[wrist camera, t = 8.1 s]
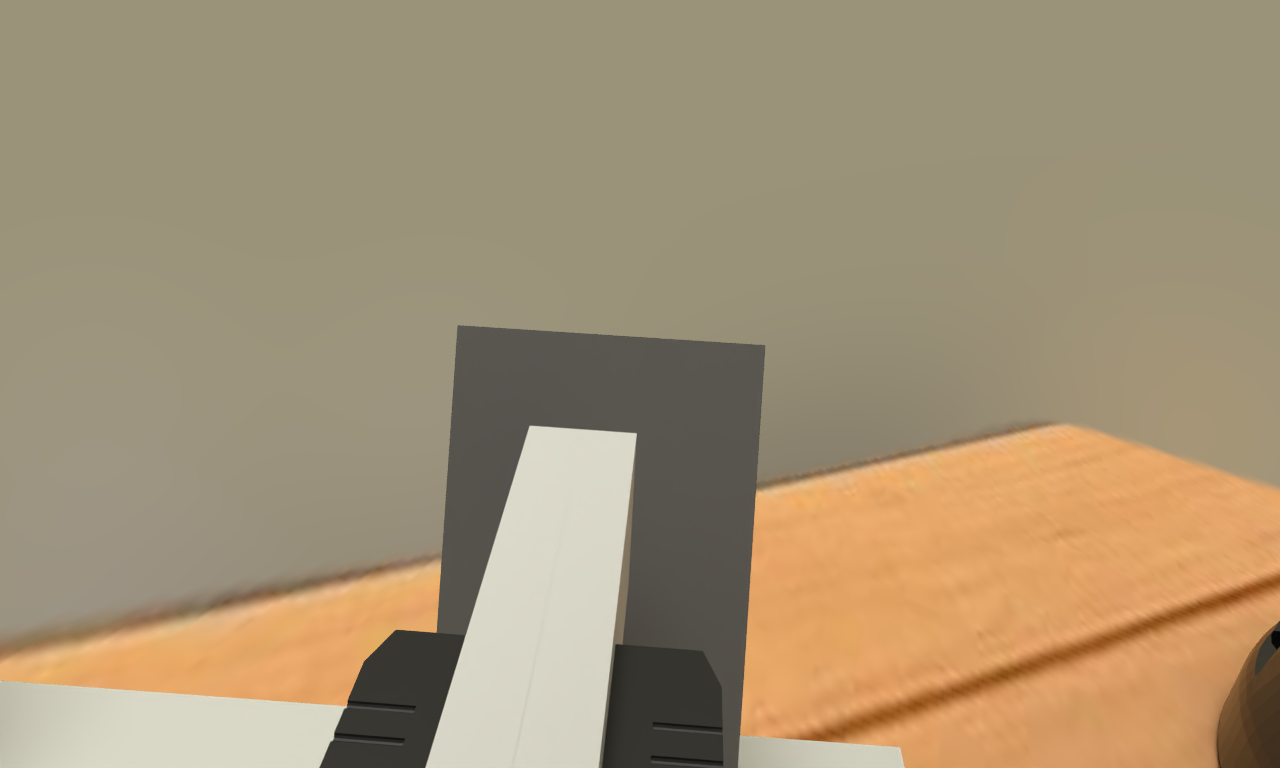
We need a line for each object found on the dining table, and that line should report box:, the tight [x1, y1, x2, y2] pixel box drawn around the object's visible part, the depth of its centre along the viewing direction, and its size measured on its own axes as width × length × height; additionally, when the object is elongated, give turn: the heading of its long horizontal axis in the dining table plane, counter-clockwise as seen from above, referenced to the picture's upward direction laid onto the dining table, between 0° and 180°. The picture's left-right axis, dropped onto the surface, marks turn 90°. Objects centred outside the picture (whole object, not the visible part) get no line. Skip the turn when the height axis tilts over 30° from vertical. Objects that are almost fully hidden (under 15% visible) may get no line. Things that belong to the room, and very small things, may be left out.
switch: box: [437, 326, 765, 768], centre depth 16 cm, size 5×2×10 cm
